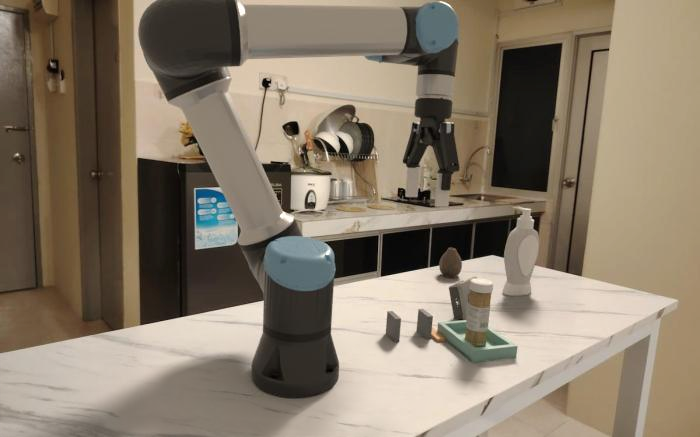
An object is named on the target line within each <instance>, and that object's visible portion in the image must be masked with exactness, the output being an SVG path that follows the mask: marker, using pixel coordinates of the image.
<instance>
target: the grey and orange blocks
mask: <svg viewBox="0 0 700 437" xmlns="http://www.w3.org/2000/svg"><path fill="white" fill-rule="evenodd" d="M417 311H418V312H417V322H416V332H418V333H419V334H420V335H421V336H422V337H423V338H424V339H425V340H427V339H433V340H434V341H436V343H437V342H447V341H446V338H445V337H444V336H442V335H441V334H440V333H439V332H438V331H437V330H436V329H435V328H434V327H433V321H434V316H433V315H432V314H431V313H429V312H428V311H427V310H426V309H424V308H418V310H417ZM401 323H402V318H401V316H399V315H398V314H397V313H395V312H394V311H393V310H389V311H388V310H387V313H386V325H385V334H386V335H387V337H389V339H391V341H392V342H394V343H396V342H400V339H401V338H400V337H401Z"/></svg>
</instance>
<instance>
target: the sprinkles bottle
mask: <svg viewBox="0 0 700 437" xmlns="http://www.w3.org/2000/svg"><path fill="white" fill-rule="evenodd" d="M493 289H494V283H493V281H491V280H489V279H486V278H479V277H477V278H475V279H471V281H470V297H469V303H468V311H467V321H466V334H465V338H464V339H465V340H466V341H467V342H469V343H470V344H471V345H473V346H484V345H486V336H487V330H488V327H489V321H490V315H491V314H490V313H491V299H492V293H493Z"/></svg>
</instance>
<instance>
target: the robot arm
mask: <svg viewBox="0 0 700 437" xmlns="http://www.w3.org/2000/svg"><path fill="white" fill-rule="evenodd" d="M458 18H459V17H458V15H457V12H456V11H455V10H454V9H453V8H452V6H451V5H450V4H448V3H447V2H444V1H436V0H435V1H433V2H427V3H424V4H422V5H420V6H389V5H388V6H386V5H385V6H384V5H383V6H382V5H381V6H380V5H379V6H378V5H377V6H375V5H373V6H372V5H369V6H368V5H317V4H316V5H315V4H314V5H313V4H311V5H310V4H309V5H306V4H305V5H304V4H302V5H299V4H297V5H295V4H244V3H242V2H241V1H240V0H155V1H153V2H151V3H150V4H149V5H148V6H147V8H146V9H144V11H143V13H142V14H141V17H140V19H139V23H138V29H137V30H138V33H137V36H138V41H139V45H140V47H141V51H142V53H143V58H144V59H145V62H146V64H147V66H148V67H149V69H150V71H152V73H153V75H154V77H155V79H156V81H157V83H158V85H159V87H160V89H161V91H162V93H163V95H164V98H166V101H167V103H168V105H171V106H174V107H177V108H179V109H180V110H181V111H182V114H183V115H184V117H185V119H186V121H187V123H188V126H189V127H190V130H191V132H192V134H193V135H194V137H195V139H196V141H197V144H198V146H199V148H200V150H201V152H202V153H203V156H204V158H205V160H206V162H207V164H208V166H209V168H210V170H211V173H212V174H213V176H214V178H215V181H216V182H217V184H218V186H219V188H220V191H221V192H222V194H223V196H224V198H225V199H224V200H226V202H227V205H228V207H229V209H230V210H231V213H232V215H233V217H234V219H235V221H236V223H237V224H238V227H239V229H240V233H239V236H238V238H237V244H238V245H239V247H240V249H241V252H242V254H243V256H244V258H245V259H246V261H247V263H248V268H249V270H250V272H251V274H252V276H253V277H254V278H255V280H256V281H257V283H258V285H259V287H260V289H261V291H262V293H263V314H262V316H263V318H262V333H261V337H260V340H259V342H258V345H257V348H256V349H255V353H254V356H253V359H252V362H251V375H250V377H251V380H252V382H253V384H254V385H255V386H256V387H257V388H258V389H259V390H261V391H263V392H265V393H267V394H270V395H274V396H278V397H283V398H284V397H285V398H304V397H311V396H316V395H319V394H322V393H325V392H326V391H328V390H330V389H331V388H333V387H334V386H335V385H336V384H337V382H338V380H339V377H340V362H339V361H340V360H339V358H338V354H337V351H336V348H335V347H336V346H335V344H334V340H333V336H332V320H333V319H332V318H333V302H334V288H335V287H334V285H335V275H336V269H337V268H336V263H335V253H334V250H333V249H332V248H331V246H329V245H328V244H327V243H326V242H324V241H322V240H319V239H315V238H313V237H309V236H303V233H302V231H301V229H300V227H299V224H298V223H297V221H296V218H295V216H294V215H293V214H291V213H288V212H285V211H284V210H283V209H282V206H281V203H280V202H279V200H278V197H277V194H276V192H275V191H274V189H273V187H272V185H271V182H270V180H269V178H268V175H267V174H266V171H265V169H264V167H263V165H262V162H261V160H260V158H259V156H258V154H257V151H256V149H255V147H254V145H253V143H252V140H251V138H250V135H249V133H248V132H247V130H246V128H245V124H244V123H243V120H242V118H241V115H240V114H239V112H238V109H237V108H236V105H235V103H234V101H233V98H232V96H231V94H230V92H229V87H230V85H231V82H232V80H233V77H232V75H231V73H230V71H229V68H230V67H232V68H233V67H241V66H243V65H244V64H245V63H246V61H247V60H265V59H267V60H268V59H269V60H270V59H298V58H302V59H303V58H332V57H335V58H336V57H364V58H365V59H366V60H368V61H373V62H378V63H379V64H381V63H384V64H385V63H387V64H394V65H395V64H397V65H407V66H412V67H417V75H416V86H415V87H416V88H415V96H416V97H418V98H417V99H415V101H414V102H415V103H414V113H413V114H414V117H415V118H420V120H419V122H412V123H411V130H410V134H409V137H408V142H407V144H406V148H405V152H404V154H403V155H404V156H403V159H402V163H403V165H405V166H406V168H407V170H406V181H405V182H406V183H405V195H404V196H405V197H406V198H418V195H419V194H418V193H419V182H420V181H419V180H420V169H421V164H420V162H421V160H422V159H423V157H424V154H425V152H426V150H427V148H428V147H429V146H430V147H432V149H433V153H434V156H435V159H436V163H437V166H438V170H437V171H436V186H435V196H434V207H436V208H440V207H441V208H444V207H445V208H447V207H448V208H449V204H450V194H451V193H450V192H451V187H452V176H453V175H454V173H455V172H456V173H457V172H459V171H460V162H459V157H458V156H459V155H458V150H457V144H456V137H455V123H454V122H448V121H446V120H448V119H451V117H452V111H453V101H452V100H451V98H453V96H454V88H455V85H456V84H455V75H456V67H457V60H458V58H457V56H458V50H459V49H458V47H459V44H460V40H459V38H460V29H459V28H460V24H459V19H458ZM228 67H229V68H228Z"/></svg>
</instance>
